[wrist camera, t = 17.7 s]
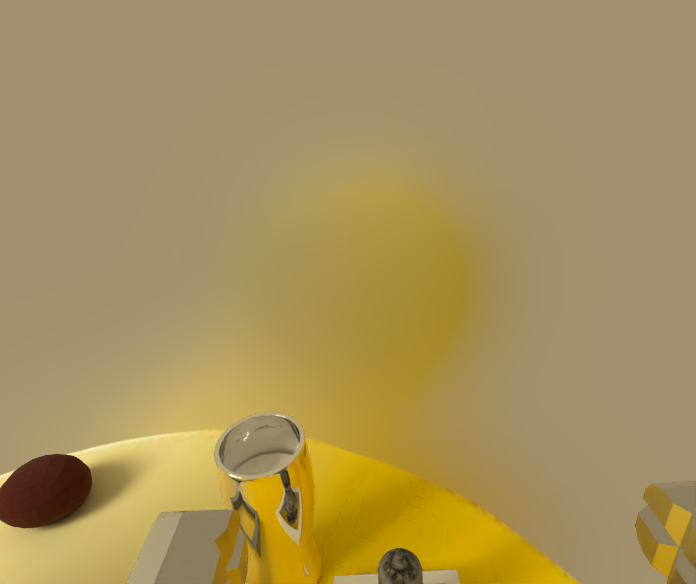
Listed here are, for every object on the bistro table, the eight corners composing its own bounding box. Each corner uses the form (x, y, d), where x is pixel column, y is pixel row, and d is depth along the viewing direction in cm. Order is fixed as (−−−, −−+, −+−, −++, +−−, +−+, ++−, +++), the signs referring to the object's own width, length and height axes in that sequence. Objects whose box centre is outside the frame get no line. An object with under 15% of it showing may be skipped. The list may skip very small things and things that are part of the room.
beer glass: (310, 624, 34) (283, 489, 28) (232, 601, 36) (191, 470, 30) (337, 542, 40) (320, 416, 34) (269, 526, 42) (241, 404, 36)
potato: (31, 487, 49) (9, 447, 46) (108, 472, 50) (91, 432, 47) (-5, 548, 42) (-32, 506, 40) (85, 529, 43) (64, 487, 41)
